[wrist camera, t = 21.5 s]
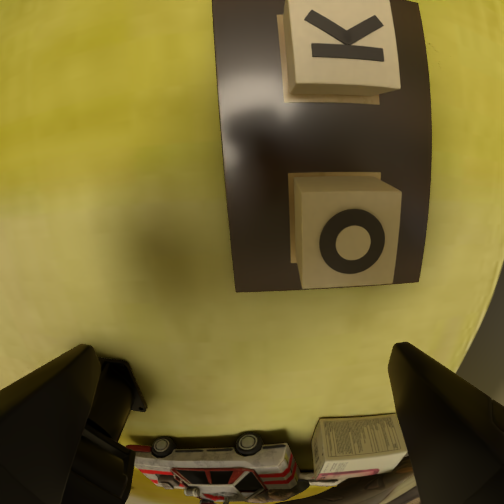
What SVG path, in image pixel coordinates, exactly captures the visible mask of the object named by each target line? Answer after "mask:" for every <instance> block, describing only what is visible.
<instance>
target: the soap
mask: <svg viewBox="0 0 504 504" xmlns="http://www.w3.org/2000/svg"><path fill="white" fill-rule="evenodd" d="M298 479H304V480H307V481H308V482H309V483H310V485H317V486H326V487H328V486H334V485H338V484H339V483H341V482H342V481H344V480H346V479H347V478H343V479H331V480H315V479H314V472H308V473H300V474H299V478H298Z"/></svg>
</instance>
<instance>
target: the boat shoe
mask: <svg viewBox="0 0 504 504" xmlns="http://www.w3.org/2000/svg"><path fill="white" fill-rule="evenodd" d="M276 504H421V501H420V497H419V493H418V489H417V485H416V481H415V477H414V473H413V469H412V465H411V462H410V458H409V456H407V457H403V459H402V460H401V461H400V462H399V463H398V465H397V466H396V467H395V468H394V469H393V470H392V472H388V473H382V474H375V475H369V476H362V477H353V478H347V479H346V480H344V481H342V482H341V483H339V484H338V485H337V486H336V487H332V488H330V489H328V490H326V491H324V492H322V493H319V494H317V495H314V496H310V497H306V498H302V499H296V500H291V501H285V502H280V503H276Z"/></svg>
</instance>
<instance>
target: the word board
mask: <svg viewBox="0 0 504 504" xmlns="http://www.w3.org/2000/svg"><path fill="white" fill-rule="evenodd" d="M389 1H390V6H391V12H392V18H393V24H394V30H395V37H396V45H397V53H398V62H399V73H400V85H401V88H400V89H398V90H394V91H390V92H386V93H382V94H378V95H374V96H360V95H338V94H289V85H288V72H287V59H286V47H285V36H284V26H283V14H284V6H285V0H212V12H213V29H214V45H215V61H216V75H217V89H218V103H219V116H220V129H221V141H222V153H223V165H224V176H225V188H226V199H227V210H228V220H229V231H230V241H231V251H232V261H233V271H234V281H235V290H236V292H261V291H287V290H309V289H302V286H301V281H300V275H299V270H298V265H297V259H296V248H295V203H294V177H320V176H374V177H376V178H377V179H379V180H381V181H383V182H385V183H387V184H389V185H391V186H392V187H394V188H396V189H398V190H400V191H401V192H402V198H401V213H400V226H399V236H398V246H397V255H396V263H395V270H394V277H393V283H392V284H402V283H414V282H419V278H420V272H421V266H422V259H423V253H424V246H425V238H426V230H427V221H428V211H429V199H430V184H431V160H432V121H431V97H430V83H429V72H428V62H427V54H426V46H425V39H424V33H423V27H422V21H421V16H420V11H419V6H418V3H416V2H411V1H407V0H389ZM380 285H389V284H380ZM365 286H375V285H365ZM349 287H360V286H349ZM332 288H345V287H332ZM313 289H328V288H313Z"/></svg>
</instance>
